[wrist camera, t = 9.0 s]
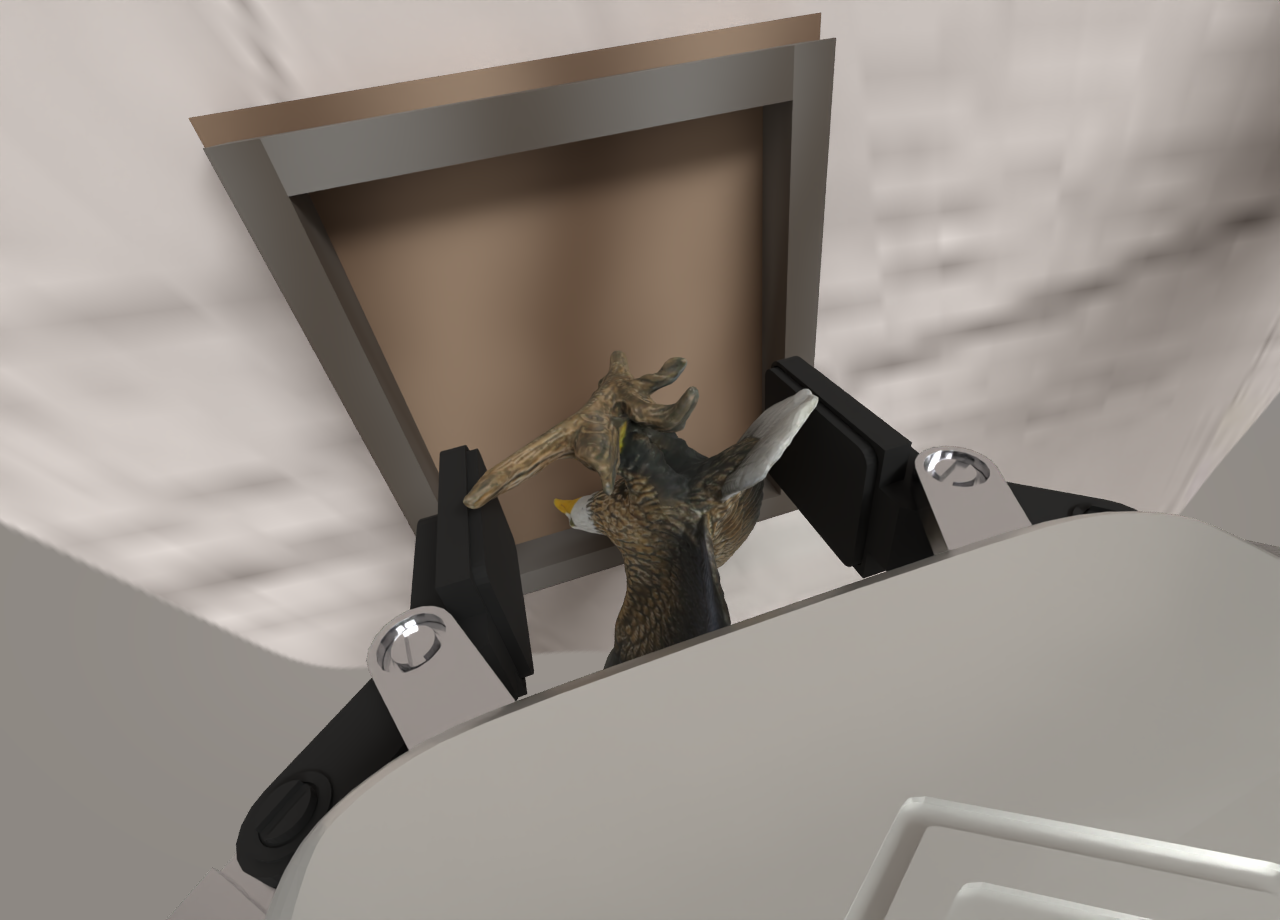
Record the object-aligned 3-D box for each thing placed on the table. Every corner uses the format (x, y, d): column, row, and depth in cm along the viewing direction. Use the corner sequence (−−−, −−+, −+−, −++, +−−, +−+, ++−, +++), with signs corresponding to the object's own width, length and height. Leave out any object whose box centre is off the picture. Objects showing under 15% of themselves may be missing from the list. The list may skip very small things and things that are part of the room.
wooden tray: (795, 18, 14) (858, 4, 11) (781, 473, 23) (815, 513, 20) (210, 115, 12) (154, 121, 9) (450, 572, 21) (449, 628, 18)
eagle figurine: (371, 462, 11) (543, 724, 15) (582, 540, 6) (755, 903, 10) (616, 318, 15) (700, 555, 19) (864, 293, 10) (906, 621, 14)
